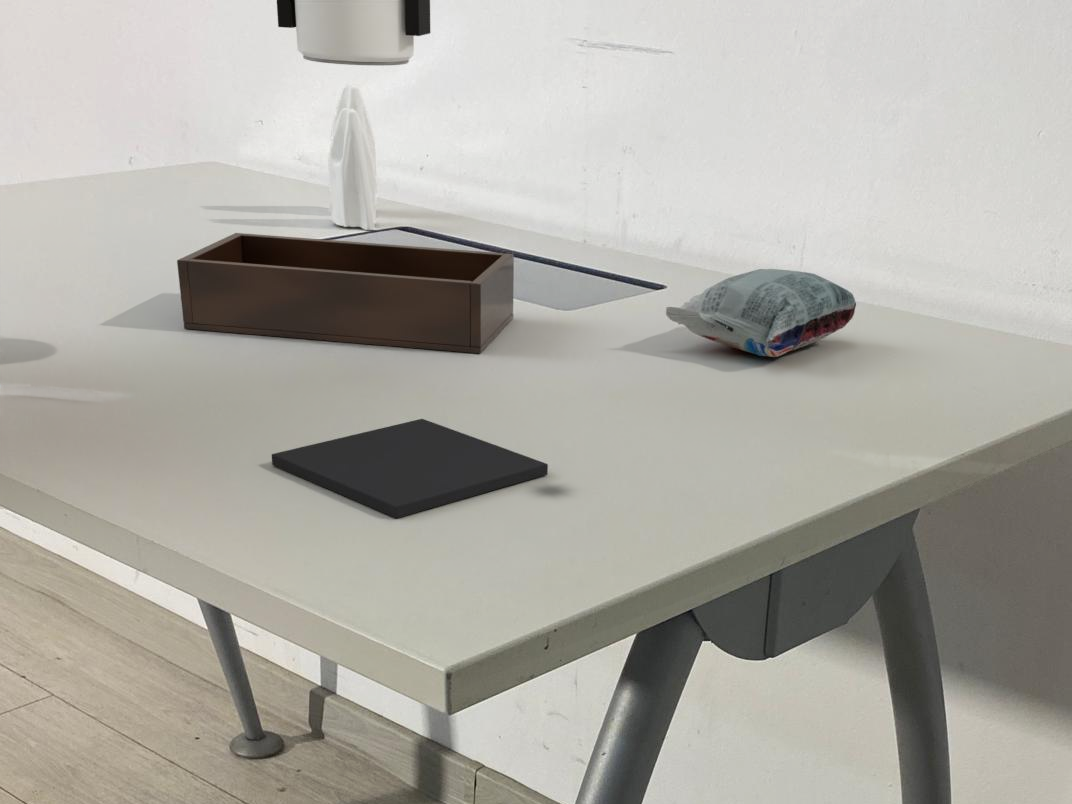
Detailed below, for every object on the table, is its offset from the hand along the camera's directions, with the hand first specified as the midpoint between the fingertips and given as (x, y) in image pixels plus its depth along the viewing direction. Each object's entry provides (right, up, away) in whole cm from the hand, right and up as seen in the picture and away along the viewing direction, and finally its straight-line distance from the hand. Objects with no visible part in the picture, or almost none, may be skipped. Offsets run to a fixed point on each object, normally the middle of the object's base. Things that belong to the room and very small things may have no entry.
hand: (355, 29), depth 80 cm
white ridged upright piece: (-9, +11, +54) cm, 56 cm away
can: (0, -2, +1) cm, 2 cm away
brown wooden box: (-3, -10, +20) cm, 22 cm away
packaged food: (+25, -12, +19) cm, 33 cm away
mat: (+4, -26, -6) cm, 27 cm away
